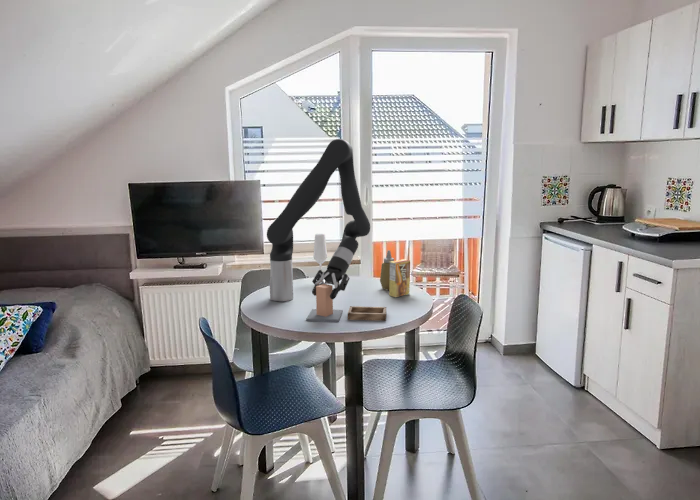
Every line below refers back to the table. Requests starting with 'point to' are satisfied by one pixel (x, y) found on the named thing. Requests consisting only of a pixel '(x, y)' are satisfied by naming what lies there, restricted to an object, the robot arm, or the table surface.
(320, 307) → the terracotta block
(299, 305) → the table surface
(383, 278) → the squeeze bottle
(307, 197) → the robot arm
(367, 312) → the walnut cradle
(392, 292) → the candy box
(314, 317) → the slate mat
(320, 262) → the champagne flute
